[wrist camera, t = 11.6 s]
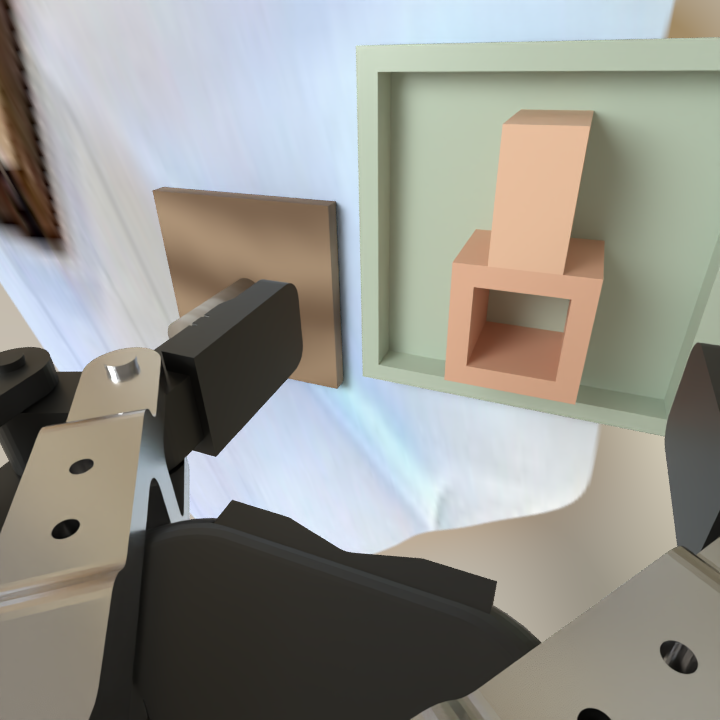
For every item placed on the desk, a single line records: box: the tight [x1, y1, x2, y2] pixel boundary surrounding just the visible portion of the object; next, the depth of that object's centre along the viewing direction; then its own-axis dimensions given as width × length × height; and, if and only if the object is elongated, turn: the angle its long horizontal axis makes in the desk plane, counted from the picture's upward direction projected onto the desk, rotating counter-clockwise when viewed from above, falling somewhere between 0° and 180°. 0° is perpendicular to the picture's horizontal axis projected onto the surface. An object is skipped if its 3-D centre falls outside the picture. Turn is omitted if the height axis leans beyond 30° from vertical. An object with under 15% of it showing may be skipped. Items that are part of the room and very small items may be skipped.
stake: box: [153, 187, 343, 389], centre depth 32 cm, size 12×12×8 cm
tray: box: [356, 37, 720, 436], centre depth 26 cm, size 17×17×3 cm
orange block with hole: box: [444, 109, 605, 405], centre depth 24 cm, size 12×6×5 cm, turn 1°
